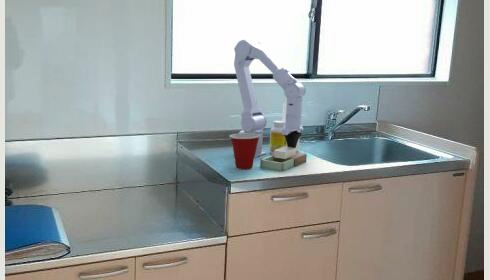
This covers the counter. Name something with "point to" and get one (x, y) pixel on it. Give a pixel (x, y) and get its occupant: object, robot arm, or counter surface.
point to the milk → (285, 122)
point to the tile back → (293, 150)
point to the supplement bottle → (277, 136)
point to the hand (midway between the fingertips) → (291, 151)
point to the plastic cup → (244, 149)
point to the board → (298, 158)
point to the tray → (276, 164)
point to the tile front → (282, 153)
